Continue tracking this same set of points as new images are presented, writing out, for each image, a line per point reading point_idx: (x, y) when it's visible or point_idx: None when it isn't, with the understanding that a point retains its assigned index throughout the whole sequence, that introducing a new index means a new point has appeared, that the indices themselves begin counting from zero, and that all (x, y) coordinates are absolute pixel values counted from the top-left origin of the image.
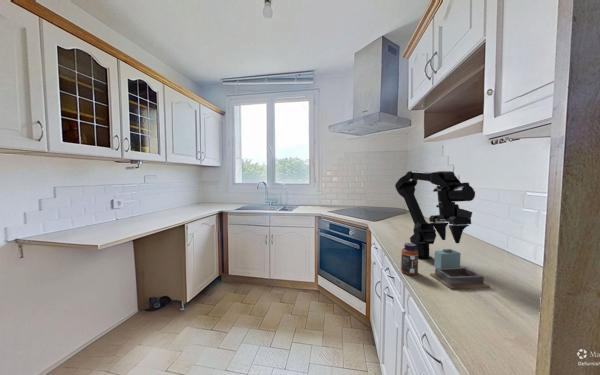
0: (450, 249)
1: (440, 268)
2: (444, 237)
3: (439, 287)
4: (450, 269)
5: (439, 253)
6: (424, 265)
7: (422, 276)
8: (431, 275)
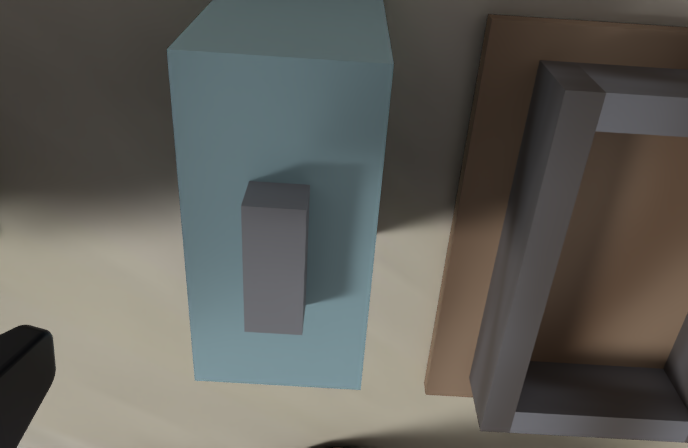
0: (274, 219)
1: (492, 389)
2: (12, 392)
3: (637, 443)
4: (543, 311)
5: (314, 381)
6: (186, 295)
7: (431, 443)
8: (445, 387)
